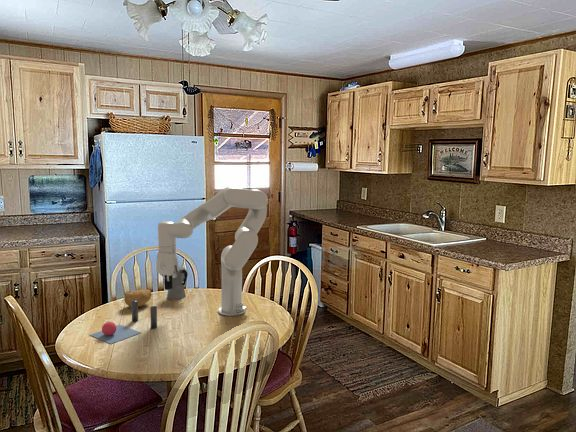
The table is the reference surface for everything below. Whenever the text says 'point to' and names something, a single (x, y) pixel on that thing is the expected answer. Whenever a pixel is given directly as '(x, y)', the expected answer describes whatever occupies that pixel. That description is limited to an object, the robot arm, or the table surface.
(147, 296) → the potato
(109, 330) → the ball
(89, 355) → the table surface
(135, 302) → the post
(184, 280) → the coffeepot
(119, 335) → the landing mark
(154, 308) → the post
